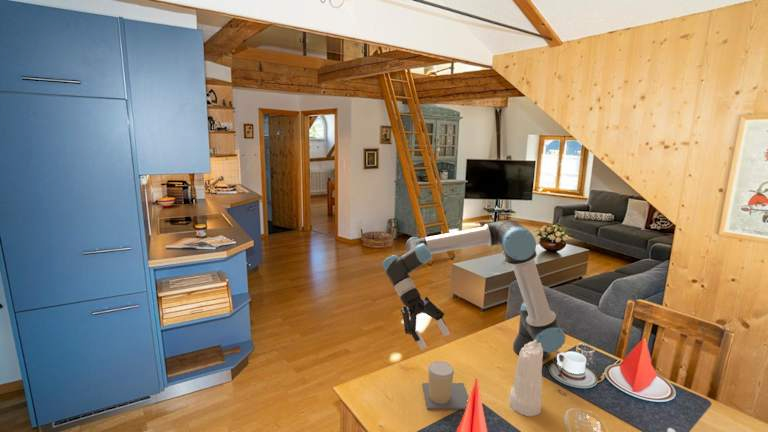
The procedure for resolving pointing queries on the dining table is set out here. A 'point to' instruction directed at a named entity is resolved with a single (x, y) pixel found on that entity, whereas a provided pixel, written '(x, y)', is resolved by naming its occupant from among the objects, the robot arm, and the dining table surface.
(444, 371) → the coffee cup
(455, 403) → the charcoal mat
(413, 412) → the dining table surface
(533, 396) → the decorative vase
